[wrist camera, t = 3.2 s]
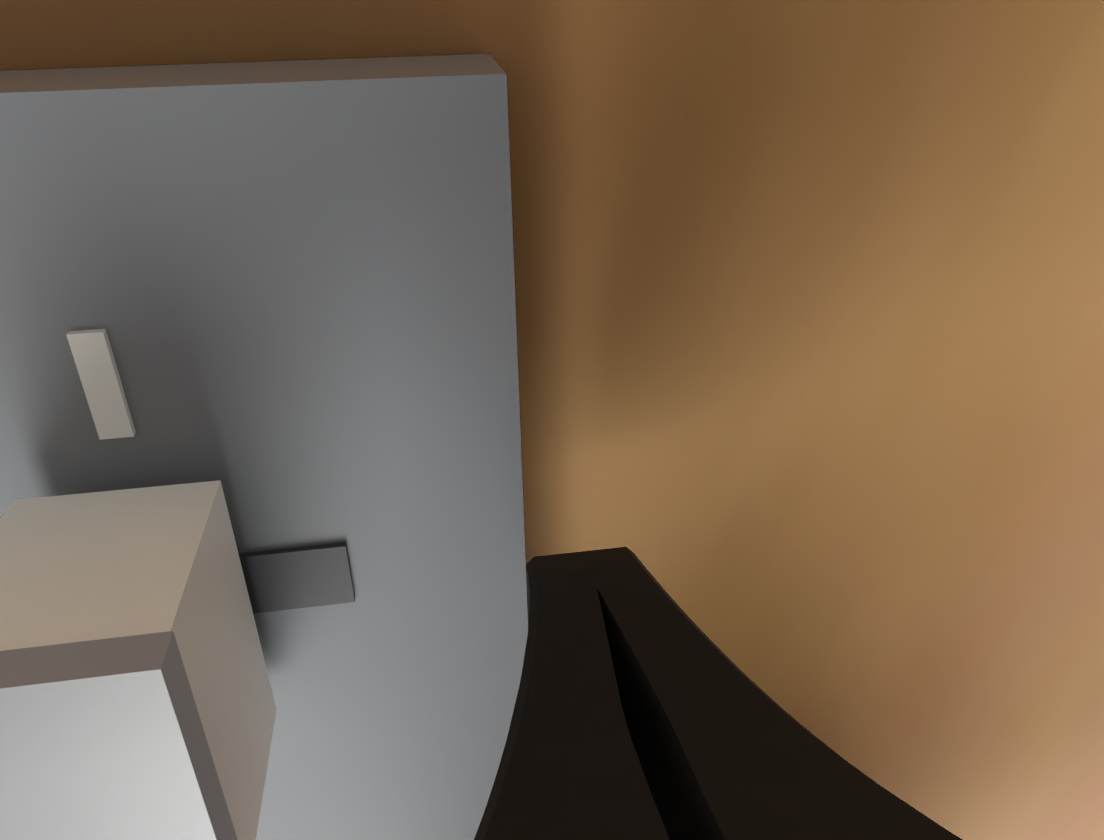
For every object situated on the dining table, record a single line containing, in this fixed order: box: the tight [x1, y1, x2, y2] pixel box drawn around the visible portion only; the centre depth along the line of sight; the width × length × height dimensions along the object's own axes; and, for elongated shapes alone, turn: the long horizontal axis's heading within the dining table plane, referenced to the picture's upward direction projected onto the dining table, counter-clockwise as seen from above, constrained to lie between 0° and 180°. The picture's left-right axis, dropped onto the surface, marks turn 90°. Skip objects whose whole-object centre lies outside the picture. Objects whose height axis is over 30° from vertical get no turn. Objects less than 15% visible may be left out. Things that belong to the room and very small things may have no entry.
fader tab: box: [0, 480, 276, 840], centre depth 10 cm, size 2×4×3 cm, turn 1°
